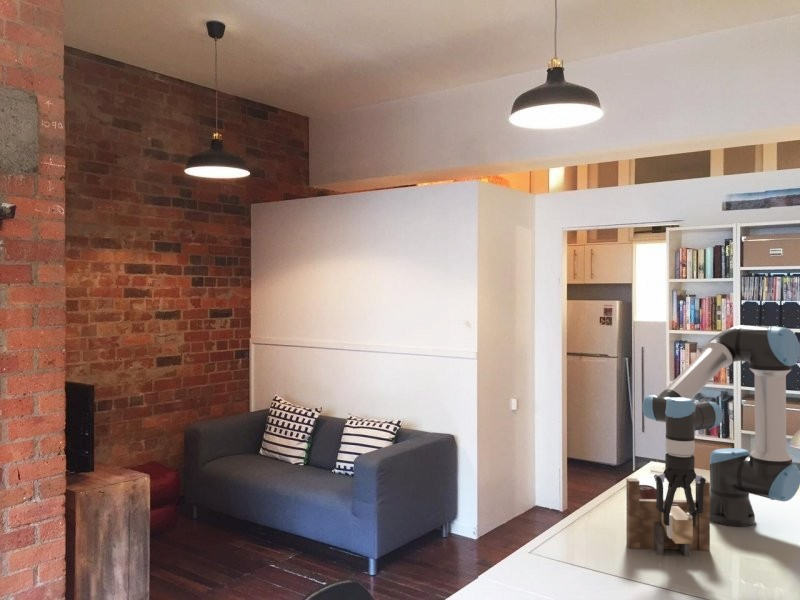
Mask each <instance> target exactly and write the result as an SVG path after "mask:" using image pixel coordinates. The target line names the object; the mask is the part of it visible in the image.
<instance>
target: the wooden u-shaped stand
mask: <svg viewBox="0 0 800 600" xmlns="http://www.w3.org/2000/svg"><path fill="white" fill-rule="evenodd" d="M625 481H626V482H625V483H626V484H625V485H626V486H625V487H626V491H625V492H626V498H625V499H626V546H627V548H628V549H629V550H630V549H631V550H633V549H634V550H640V549H650V550H651V549H653V550H655V552H656V553H657V555H658V556H664V550H679V551H680V552H681V553H682V554H683V556H684V557H690V551H695V550H696V551H702V552H703V551H704V552H705V551H706V552H710V551H711V532H710V531H711V521H710V481H708V480H707V479H706V482H705V484H704V487H703V513H698V514H697V516H696V525H695V526H693V544H677V543H675V542H674V541H673V540H672V539H670V538H669V537H668V536H667V533H666V532H665V531H664V530H663V527H662V526H661V512H660V511H659V510H658V509H657V508H656V499H639V485H640V480H639V479H638V478H631V477H629V478H626V480H625ZM693 501H694V505H695V507H696V499H693ZM664 503H665V499H663V504H664ZM672 504H678V507H679V508H681V509H682V510H683V511H684V512H685V513H689V509H688V505H687V501H686V499H673V503H672Z"/></svg>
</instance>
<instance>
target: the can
mask: <svg viewBox="0 0 800 600" xmlns="http://www.w3.org/2000/svg"><path fill="white" fill-rule="evenodd" d="M639 499H656V488H655V487H654V486H652V485H648V484H639Z"/></svg>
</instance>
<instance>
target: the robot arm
mask: <svg viewBox="0 0 800 600" xmlns="http://www.w3.org/2000/svg"><path fill="white" fill-rule="evenodd" d="M799 342H800V341H799V339H798V337H797V335H796V334H795V332H794V331H793V330H792V329H790V328H787V327H784V326H783V327H782V326H776V325H773V326H772V325H747V324H745V325H744V324H741V325H736V326H732V327H729V328H728V329H724V330H723V331H721V332H719V333H718V334H716V335H715V336H713V337H712V338H711V339H710V340H709V341H708V342H706V343H705V345H704V346H703V350H702V352H701V353H700V354H699V355H698V356H697V357H696V358H695V359H694V360H693V361H692V362H691V363H690V364H688V366H687V367H686V368H685V369H684V370H683V371H682V372H681V373H680V374H679V375H677V377H676V378H674V380H673V381H672V382H671V383H669V385H668V386H666V388H665V389H664V390H663V391H662V392H661V393H660V394H659V395H656V394H650V395H647V396H646V397H645V398H644V399H643V402H642V405H641V409H642V413H643V415H644V416H645V418H647V419H649V420H653V421H656V422H662V423H665V452H666V453H665V457H664V458H665V459H664V460H665V462H664V463H665V465H664V466H665V467H664V468H665V469H664V471H663V473H661V474H654V476H653V478H654V481H655V485H656V486H655V487H656V488H655V489H656V508H657V509H658V510H659V511H660V512H663V522H664V524H665V525H666V526H667V536H668V537H669V538H670V539H673V515H672V514H671V513H670V511H671V507H672V503H673V500H675V499H674V498H675V493H676V492H677V489H679V488H682V489H683V491H684V495H685V500H686V501H687V505H688V509H689V513H686V514H687V515H688V516H689V517H690V518H691V519H692V520H693V526H695V525H696V516H697V514H698V513H703V487H704V484H705V482H706V480H707V479H706V478H705V477H703V476H702V475H698V474H696V471H695V461H696V459H695V456H694V455H695V453H696V452H695V451H696V449H695V447H696V446H695V445H696V444H695V438H696V436H695V433H696V431H701V430H706V429H707V430H710V429H712V428H717V427H718V426H720V425H721V423H722V422H723V419H724V414H723V410H722V408H721V407H720V405H718V404H717V403H716V402H714V401H706V400H704V401H695V400H694V397H695V396H696V395H698V394H699V392H701V390H702V389H704V387H705V386H706V385H707V384H709V382H710V381H711V380H712V379H713V378H715V376H716V375H717V374H718V373H719V372H720V371H721V370H722V369H723V368H727V367H729V366H731V365H732V364H733V363H734V362H746V363H747V362H748V368H749V371H751V372H752V373H753V374H754V447H755V448H754V449H753V450H752V451H749V450H748V449H745V448H736V447H733V448H732V447H729V448H728V447H726V448H716V449H715V450H713V451H711V452H710V455H709V456H710V457H709V463H708V464H709V482H710V522H713V523H715V524H719V525H723V526H730V527H748V526H752V525H754V524H755V522H756V514H755V512H754V509H753V505H752V503H751V500H750V494H751V495H755V496H759V497H762V498H766V499H770V500H771V501H778V502H788V501H790V500H792V499H793V498H794V497H795V496H796V494H797V493H798V490H799V487H800V468H799V467H798V466H796V465H795V464H793V457H792V456H791V454H789V452H787V378H786V377H787V375H788V374H789V373H790V372H791V371H792V366H794V365H796V364H797V363H798V361H799V358H800V343H799ZM665 479H666V481H667V482H668V485H667V487H668V488H667V490H666V491H667V492H666V495H665V499H664V482H665ZM694 481H695V500H696V507H695V505H694V501H693V500H694V497H693V494H692V487H691V484H692V483H693V482H694ZM663 500H665V503H664V507H663Z"/></svg>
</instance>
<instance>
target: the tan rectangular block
mask: <svg viewBox="0 0 800 600" xmlns="http://www.w3.org/2000/svg"><path fill="white" fill-rule="evenodd" d="M663 507H664V504H663ZM670 513H671V514H672V515H673V539H672V540H673V541H674V542H675V543H677V544H693V520H692V519H691V518H690V517H689V516H688V515H687V514H686V513H685V512H684V511H683V510H682V509H681V508H679V507H678V504H672V507H671V511H670ZM661 526H662V527H663V530H664V531H665V532H666V533H667V526H666V525H665V524H664V522H663V512H661Z"/></svg>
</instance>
